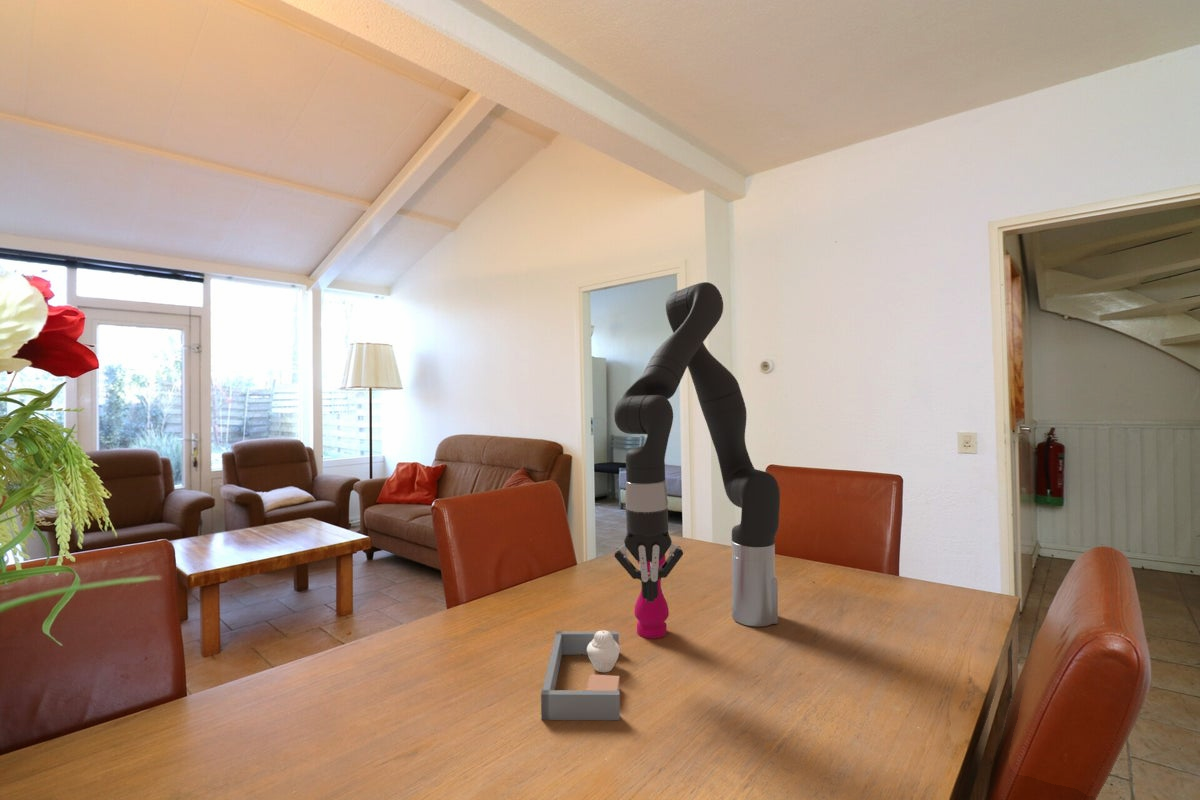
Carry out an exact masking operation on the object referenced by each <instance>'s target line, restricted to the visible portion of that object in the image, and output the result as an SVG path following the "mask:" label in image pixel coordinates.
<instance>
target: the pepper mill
mask: <svg viewBox="0 0 1200 800" xmlns="http://www.w3.org/2000/svg"><path fill="white" fill-rule="evenodd" d="M636 561H637V560H636ZM665 561H666V554H665V555H664V556H663V558H662V559H661V560H659V567H658V569H660V568H661V566H662V565H663V564H664V562H665ZM637 564H638V565H639V566H640V564H639V561H637ZM638 570H640V568H639V569H638ZM647 571H648V578H650V562H647ZM661 580H662V578H660V579H659V580H658V597H657V598H654V602H651V601H650V602H646V599H643V596H642V587H641V589H640V593H639V595H638V597H637V599H636V601H635V605H634V612H633V613H634V616H635V618H636V619H637V620H638V621H637V622H636V634H638V635H639V637H642V638H645V639H659V638H663V637H665V636H666V635H667V628H668V627H667V622H666V621H667V619H668V618H669V615H670V612H669V605H668V602H667V600H666V598H665V596H664V594H663V590H662V581H661Z"/></svg>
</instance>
